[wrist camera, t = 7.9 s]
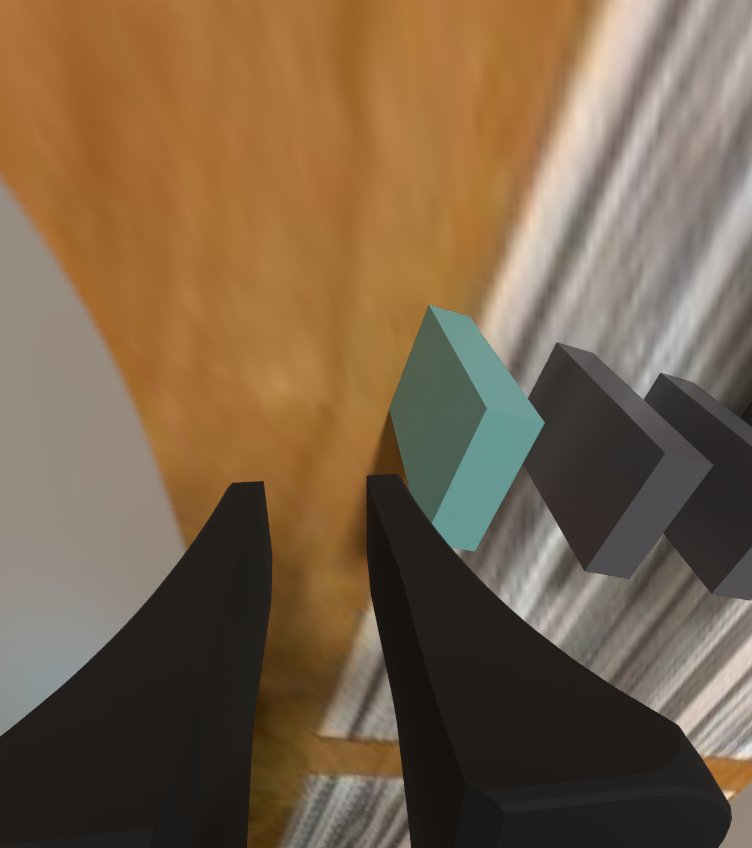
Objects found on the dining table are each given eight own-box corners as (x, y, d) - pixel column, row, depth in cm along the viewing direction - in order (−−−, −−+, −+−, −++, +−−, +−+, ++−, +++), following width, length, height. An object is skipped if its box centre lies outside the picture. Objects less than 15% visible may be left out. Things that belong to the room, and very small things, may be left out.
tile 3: (692, 382, 23) (843, 497, 16) (636, 467, 25) (750, 600, 18) (660, 372, 22) (802, 487, 16) (605, 460, 24) (711, 593, 18)
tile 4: (592, 352, 21) (713, 465, 15) (541, 445, 24) (628, 579, 17) (556, 342, 21) (665, 453, 15) (508, 437, 23) (584, 571, 17)
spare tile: (469, 316, 20) (544, 423, 14) (426, 418, 22) (474, 551, 16) (428, 304, 20) (487, 408, 13) (389, 409, 22) (422, 542, 15)
